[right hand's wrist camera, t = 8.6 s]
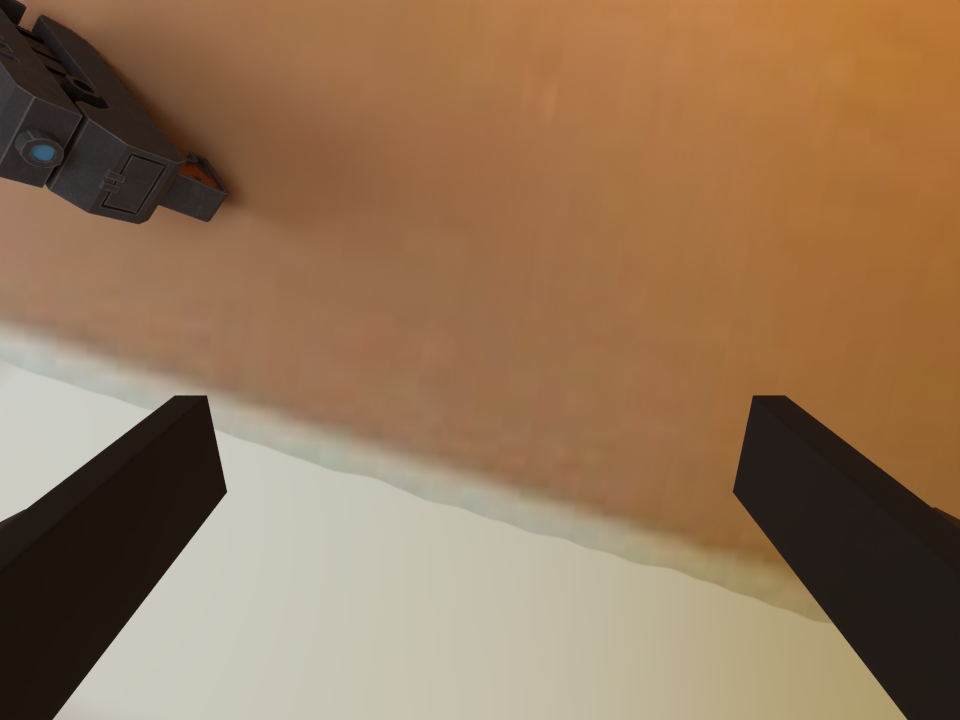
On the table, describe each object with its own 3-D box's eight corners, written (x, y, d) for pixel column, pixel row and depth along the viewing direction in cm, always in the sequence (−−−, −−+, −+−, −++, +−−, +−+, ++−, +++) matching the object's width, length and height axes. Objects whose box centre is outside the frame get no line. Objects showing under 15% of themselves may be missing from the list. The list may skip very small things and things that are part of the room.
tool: (214, 249, 42) (-21, 194, 28) (105, 109, 47) (-141, 3, 33) (256, 189, 40) (27, 100, 26) (138, 51, 45) (-106, -86, 31)
